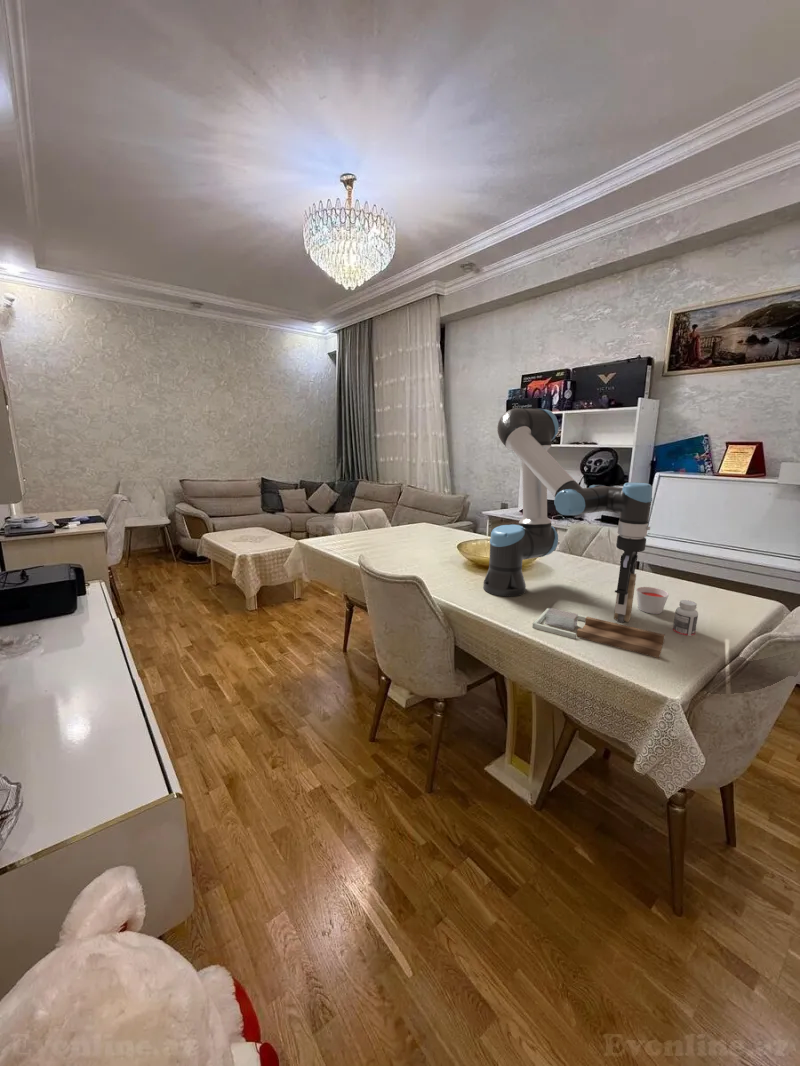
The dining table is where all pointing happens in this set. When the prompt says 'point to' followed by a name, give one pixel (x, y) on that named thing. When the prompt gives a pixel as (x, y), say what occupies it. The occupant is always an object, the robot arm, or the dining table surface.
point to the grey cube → (553, 617)
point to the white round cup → (651, 599)
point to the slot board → (622, 636)
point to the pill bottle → (685, 618)
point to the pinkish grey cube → (568, 620)
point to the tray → (552, 629)
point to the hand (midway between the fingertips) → (622, 609)
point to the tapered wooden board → (631, 587)
